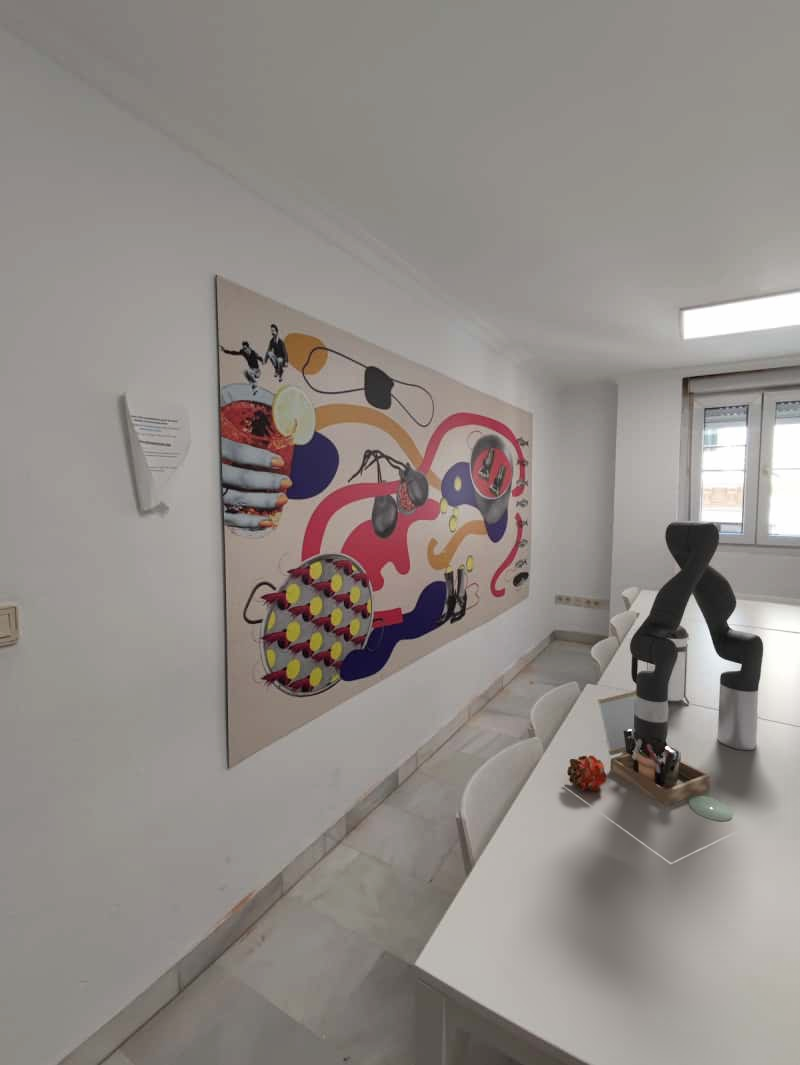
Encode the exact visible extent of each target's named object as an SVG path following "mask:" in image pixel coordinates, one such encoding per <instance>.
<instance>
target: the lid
mask: <svg viewBox="0 0 800 1065" xmlns="http://www.w3.org/2000/svg"><path fill="white" fill-rule="evenodd" d="M635 698H636V690H632V691H629V692H628V691H627V692H624V693H620V694H616V695H615V694H614V695H611V696H607V697H603V698H599V699H597V702H598V703H597V704H598V707H599V710H600V715H601V720H602V724H603V729H604V730H603V731H604V733H605V734H604V735H605V738H606V743H607V748H608V755H609V756H614V755H616V754H617V755H618V754H621V753H624V752H626V745H625V738H624V731H625V730H628V729H633V730H634V704H635ZM634 731H635V730H634ZM635 743H636V745H637V742H636V740H635Z"/></svg>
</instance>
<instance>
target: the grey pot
mask: <svg viewBox="0 0 800 1065" xmlns="http://www.w3.org/2000/svg"><path fill="white" fill-rule="evenodd" d="M667 746H668V748H670V749H671V750H673V751H675V750H676V751H678V753H679V756H678V759H677V762H676V766H675V769H674V772H672V773H670V774H667V775H665V779H668V780H677V779H678V774H679V761H682V752H681V751H680V750H679V749H678V748H676V747H673V746H670V745H667ZM664 755H666V753H665V751H664ZM665 759H666V757H665ZM665 761H666V760H665Z"/></svg>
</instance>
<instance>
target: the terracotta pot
mask: <svg viewBox="0 0 800 1065" xmlns="http://www.w3.org/2000/svg"><path fill="white" fill-rule="evenodd" d="M657 758H659V756H657ZM636 760H637V761H638V773H639V774H641V775H642V776H644V777H646V778H648V779H649V780H651V781H653V782H655V772H656V763H654V762H653V760H652V759H651V756H649V755H648V754H647V753H643V752H641V751H640V752H639V753H638V752H637V757H636ZM660 767H662V762H660Z"/></svg>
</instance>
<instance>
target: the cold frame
mask: <svg viewBox="0 0 800 1065" xmlns="http://www.w3.org/2000/svg"><path fill="white" fill-rule="evenodd" d="M633 763H634V759H633V758H632V756H631V755H630V754H627V753H625V754H621V755H619V756H616V757H613V758H610V767H609V768H610V769H609V770H610V772H611V773H613V774H615V775H617V776H618V777H620V778H621V779H622V780H625V781H626V782H627V783H629V784H631V785H632V786H634V787H636V788H637V789H639V790H641V791H642V792H644V793H646V794H647V795H649V796H650V797H651V798H654V799H655V800H657V801H659V802H660V803H662V804H664V805H665V806H666V807H667V806H670V805H673V804H675V803H677V802H680V801H681V800H684V799H687V798H691V797H693V796H695V795H697V794H699V793H701V792H704V791H706V790H709V789H710V788H711V784H710V783H711V775H710V774H708V773H706V772H704V771H702V770H700V769H698V768H696V767H694V766H692V765H691V764H688V763H686V762H684V761H682V760H681V761H679V774H678V779H677V780H668V779H665V784H664V785H663V786H660V785H658V784H656V783H655V782H653V781H651V780H649V779H648V778H646V777H644V776H642V775H641V774H639V773H637V772H636V771H634V769H633Z"/></svg>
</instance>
